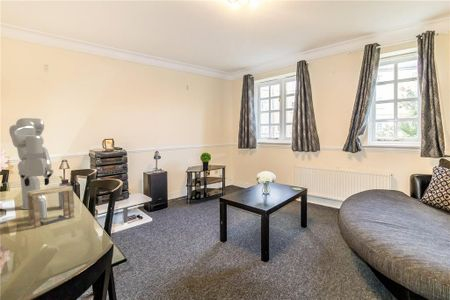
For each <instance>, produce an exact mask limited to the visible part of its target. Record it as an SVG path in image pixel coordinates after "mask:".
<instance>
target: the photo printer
mask: <svg viewBox="0 0 450 300" xmlns="http://www.w3.org/2000/svg"><path fill="white" fill-rule="evenodd" d="M38 202H39V214H40V219H43V218H45V219H46V218H47V216H48V209H47V198H46V195H41V196H38Z"/></svg>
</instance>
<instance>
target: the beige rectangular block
mask: <svg viewBox="0 0 450 300" xmlns="http://www.w3.org/2000/svg"><path fill="white" fill-rule="evenodd" d="M58 184H59V186H64V185H66V186H70V187H72V190H73V191H74V186H73V185H72V183H71V182H70V181H69V179H67V178H66V179H61V183H58ZM57 194H58V205H59V208H60V209H61V210H63V200H62V192H57ZM74 197H75V196H74V195H73V204H74V205H75V198H74Z"/></svg>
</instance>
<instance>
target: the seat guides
mask: <svg viewBox="0 0 450 300" xmlns="http://www.w3.org/2000/svg"><path fill="white" fill-rule="evenodd" d="M66 219H67V216H64V215H61V214H60V215H58V218H54V219H50V220H47V221H42V220H41V219H40V225H43V226H44V225H50V224H54V223H58V222H62V221H65V220H66Z"/></svg>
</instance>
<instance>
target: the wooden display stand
mask: <svg viewBox="0 0 450 300" xmlns="http://www.w3.org/2000/svg"><path fill="white" fill-rule="evenodd" d="M58 192H62V200H63V209H62V211H63V216H64V217H68V218H69V219H73V218H75V209H74V208H75V203H74V204H73V196H74V189H73V190H72V187H70V186H66V185H64V186H60V185H59V186H54V187H48V188H47V187H46V188H42V189H41V188H40V190H35V191H29V192H27V200H28V209H27V213H28V220H29V221H28V223H29V225H30V226H34V228H35V229H37V228H40V227H41V224H40V220H41V218H40V214H39V202H38V196H41V195H44V196H46V195H51V194H56V193H57V194H58Z"/></svg>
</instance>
